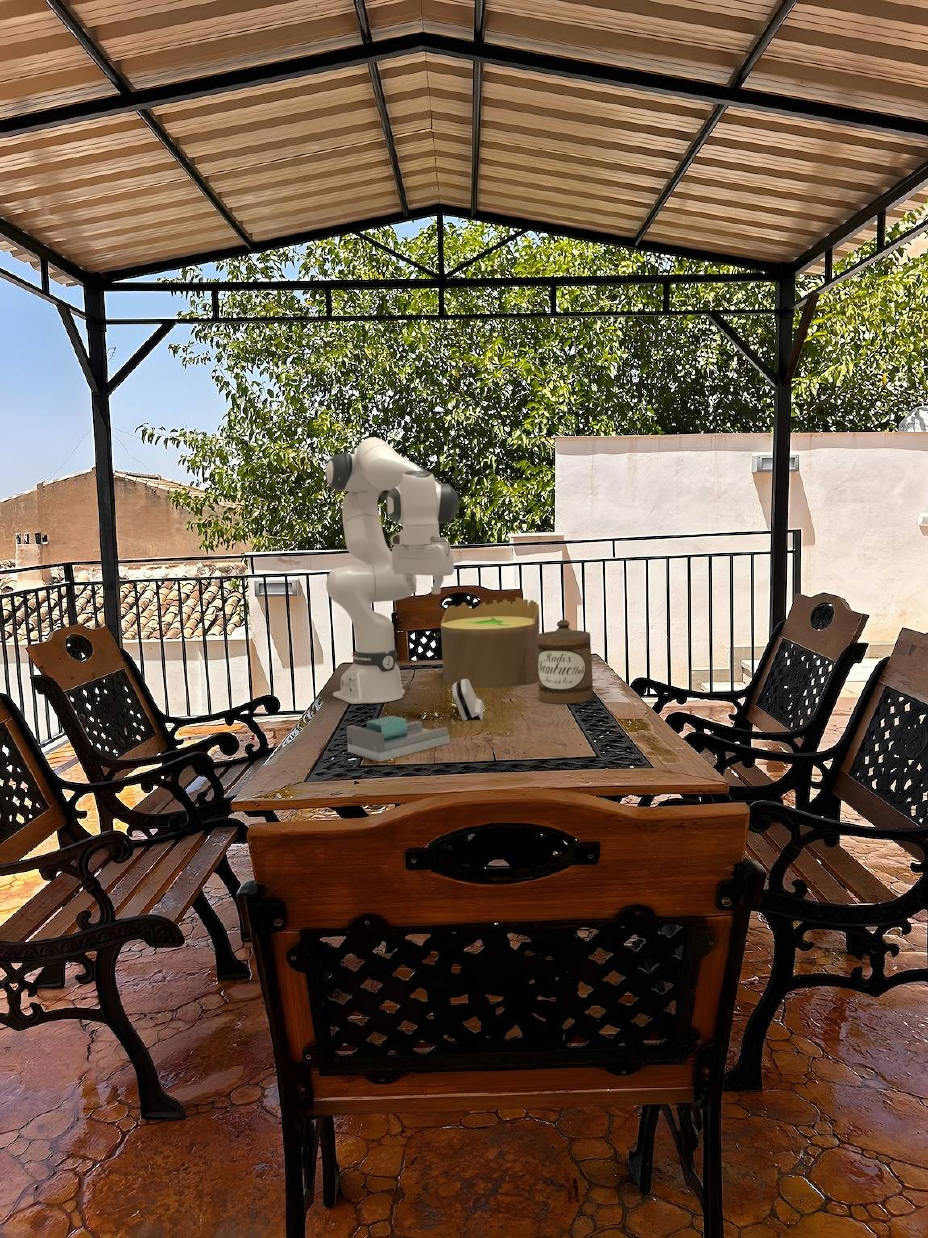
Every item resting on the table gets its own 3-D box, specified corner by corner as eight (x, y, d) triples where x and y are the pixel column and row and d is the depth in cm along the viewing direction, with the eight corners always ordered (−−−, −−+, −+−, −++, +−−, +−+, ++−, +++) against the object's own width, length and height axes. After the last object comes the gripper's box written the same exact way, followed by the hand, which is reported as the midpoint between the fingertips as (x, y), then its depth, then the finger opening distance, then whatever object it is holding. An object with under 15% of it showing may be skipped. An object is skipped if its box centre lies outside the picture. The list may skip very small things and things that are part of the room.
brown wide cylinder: (488, 664, 308) (485, 595, 305) (566, 675, 282) (564, 599, 279) (417, 679, 286) (414, 604, 283) (495, 693, 261) (492, 611, 258)
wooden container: (532, 703, 245) (529, 623, 242) (548, 692, 259) (545, 616, 256) (585, 705, 239) (583, 623, 237) (598, 694, 253) (596, 616, 250)
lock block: (367, 743, 202) (366, 721, 202) (394, 736, 207) (393, 715, 207) (382, 747, 198) (381, 725, 198) (409, 740, 203) (408, 718, 203)
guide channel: (347, 752, 203) (346, 726, 202) (417, 734, 216) (416, 710, 215) (379, 762, 194) (377, 735, 193) (449, 743, 207) (448, 717, 206)
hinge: (482, 720, 228) (467, 684, 227) (465, 726, 228) (450, 690, 227) (484, 705, 245) (470, 671, 244) (468, 711, 245) (454, 678, 244)
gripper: (458, 536, 215) (461, 593, 216) (406, 536, 230) (408, 590, 232) (438, 537, 211) (441, 596, 212) (386, 537, 226) (389, 592, 227)
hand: (423, 593), depth 222 cm, fingers open, 8 cm apart
